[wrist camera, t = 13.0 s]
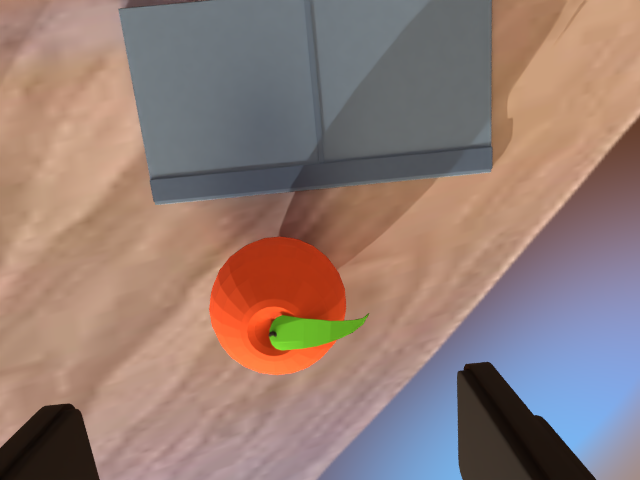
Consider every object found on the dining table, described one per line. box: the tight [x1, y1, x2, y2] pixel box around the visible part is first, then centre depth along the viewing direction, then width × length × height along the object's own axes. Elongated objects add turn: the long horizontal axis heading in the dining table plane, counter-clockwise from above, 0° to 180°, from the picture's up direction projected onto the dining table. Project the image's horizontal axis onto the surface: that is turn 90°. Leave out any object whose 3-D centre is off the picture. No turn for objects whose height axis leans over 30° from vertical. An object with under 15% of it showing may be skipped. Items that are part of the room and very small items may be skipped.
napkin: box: [119, 0, 492, 205], centre depth 21 cm, size 19×10×1 cm, turn 95°
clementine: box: [209, 237, 369, 375], centre depth 20 cm, size 8×7×7 cm
